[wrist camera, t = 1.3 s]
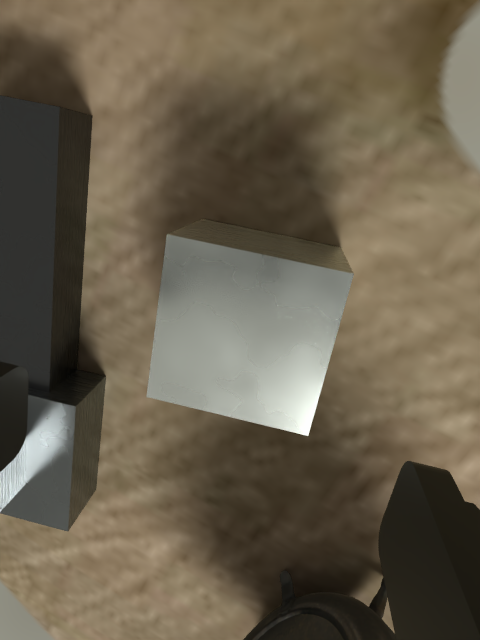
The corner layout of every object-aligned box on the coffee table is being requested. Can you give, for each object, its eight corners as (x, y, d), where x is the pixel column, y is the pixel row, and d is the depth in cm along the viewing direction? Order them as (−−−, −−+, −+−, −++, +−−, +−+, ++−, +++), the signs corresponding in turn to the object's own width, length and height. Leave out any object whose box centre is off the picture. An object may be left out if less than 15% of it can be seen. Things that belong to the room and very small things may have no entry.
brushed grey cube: (203, 218, 18) (166, 234, 13) (341, 247, 18) (353, 273, 13) (183, 344, 20) (146, 396, 15) (307, 373, 20) (308, 435, 15)
